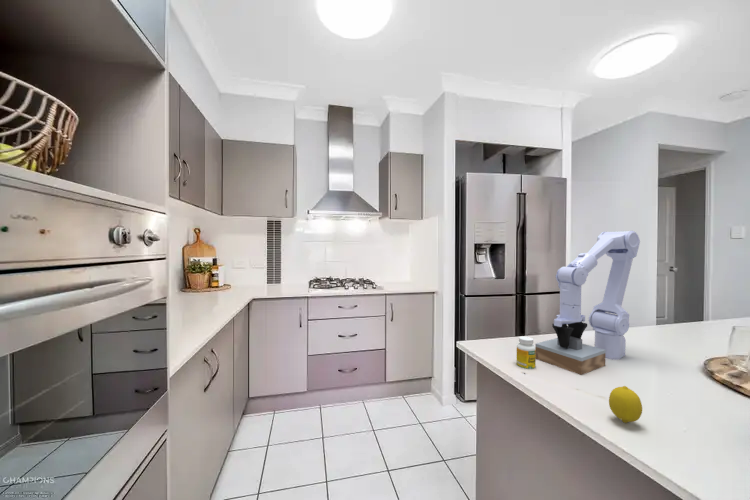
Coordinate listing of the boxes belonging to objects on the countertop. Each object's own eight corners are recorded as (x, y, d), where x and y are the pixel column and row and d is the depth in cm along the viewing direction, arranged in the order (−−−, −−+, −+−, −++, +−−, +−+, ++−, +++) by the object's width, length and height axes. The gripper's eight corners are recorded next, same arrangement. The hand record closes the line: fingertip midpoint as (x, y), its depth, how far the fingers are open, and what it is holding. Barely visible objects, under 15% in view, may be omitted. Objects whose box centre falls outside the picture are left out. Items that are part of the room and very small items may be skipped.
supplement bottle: (522, 363, 96) (522, 334, 95) (538, 369, 91) (539, 339, 91) (512, 367, 93) (513, 337, 93) (529, 373, 88) (530, 342, 88)
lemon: (602, 415, 67) (602, 381, 66) (624, 414, 67) (625, 380, 67) (624, 431, 61) (625, 393, 61) (649, 430, 62) (650, 392, 61)
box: (559, 354, 104) (559, 340, 104) (605, 368, 92) (605, 353, 92) (535, 361, 98) (535, 346, 97) (581, 378, 85) (581, 361, 85)
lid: (559, 344, 104) (559, 329, 104) (605, 357, 92) (605, 340, 92) (535, 351, 97) (535, 334, 97) (581, 366, 85) (581, 347, 85)
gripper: (569, 299, 101) (568, 338, 102) (544, 303, 94) (543, 345, 95) (592, 303, 95) (591, 344, 95) (567, 307, 88) (566, 352, 88)
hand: (569, 345), depth 95 cm, fingers open, 6 cm apart
